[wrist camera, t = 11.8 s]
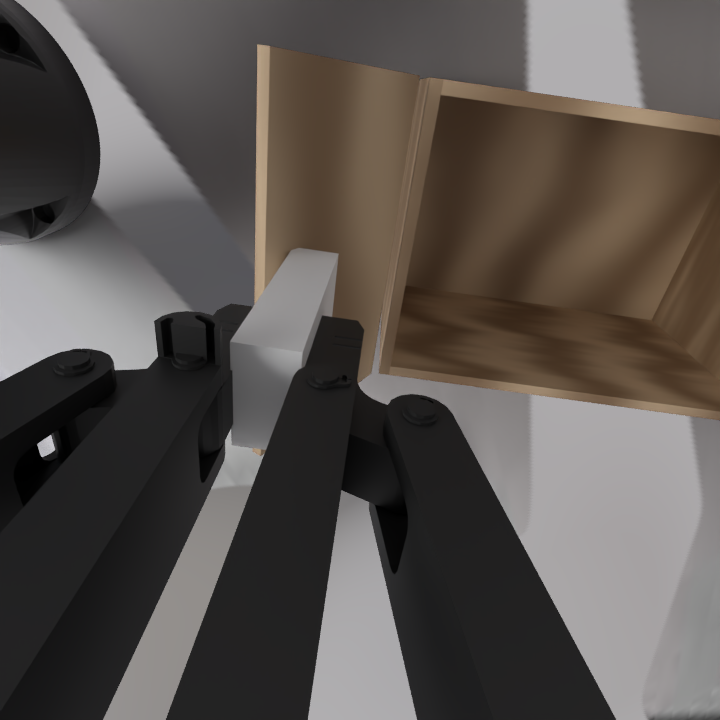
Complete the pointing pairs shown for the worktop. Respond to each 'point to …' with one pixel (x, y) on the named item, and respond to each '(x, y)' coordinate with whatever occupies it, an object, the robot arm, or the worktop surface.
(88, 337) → the worktop surface
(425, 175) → the carton
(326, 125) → the flap
